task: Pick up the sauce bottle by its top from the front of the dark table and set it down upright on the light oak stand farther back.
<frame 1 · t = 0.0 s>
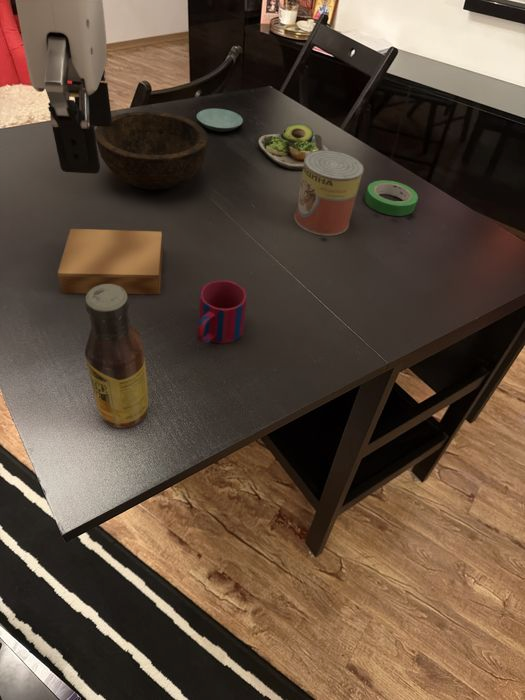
hand: (89, 146, 45), 30 cm above the table, tool pointing down, fingers open, 9 cm apart
saucer: (219, 127, 124), on the table
oak stand: (115, 270, 80), on the table
canned food: (321, 221, 98), on the table
avocado toast plate: (294, 154, 118), on the table
mug: (215, 335, 72), on the table
sauce bottle: (125, 412, 61), on the table
tape roll: (388, 203, 106), on the table
bowl: (155, 181, 102), on the table
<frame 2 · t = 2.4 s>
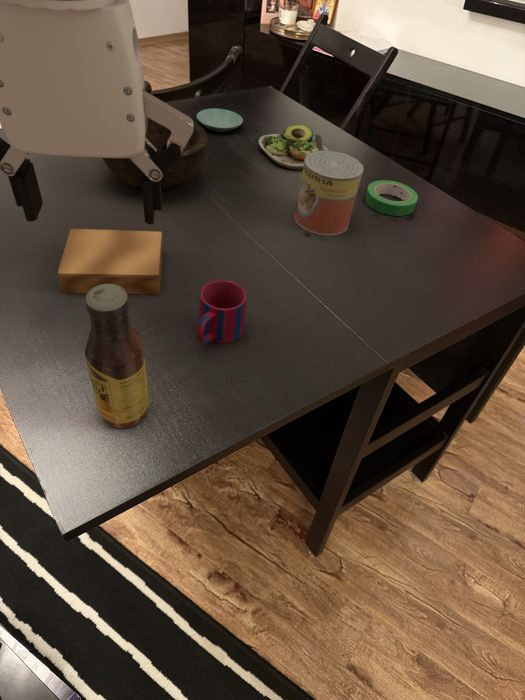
hand: (93, 214, 42), 28 cm above the table, tool pointing down, fingers open, 9 cm apart
nothing on the table moved.
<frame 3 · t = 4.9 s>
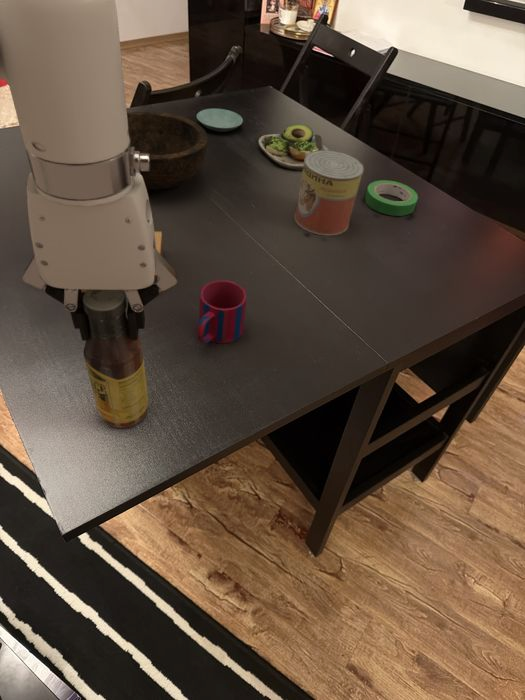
hand: (111, 329, 50), 15 cm above the table, tool pointing down, fingers closed on sauce bottle, 4 cm apart
sauce bottle: (125, 412, 61), on the table, touching gripper
everything else where it was.
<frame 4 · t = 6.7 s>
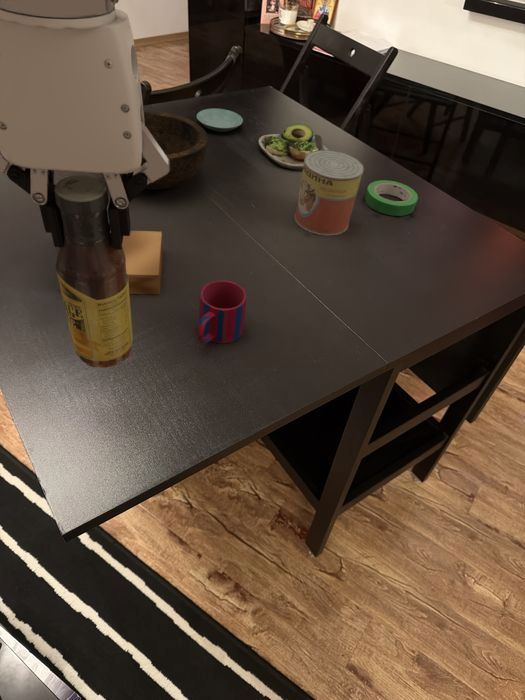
hand: (90, 237, 42), 26 cm above the table, tool pointing down, fingers closed on sauce bottle, 4 cm apart
sauce bottle: (105, 352, 53), point 11 cm above the table, touching gripper
everything else where it was.
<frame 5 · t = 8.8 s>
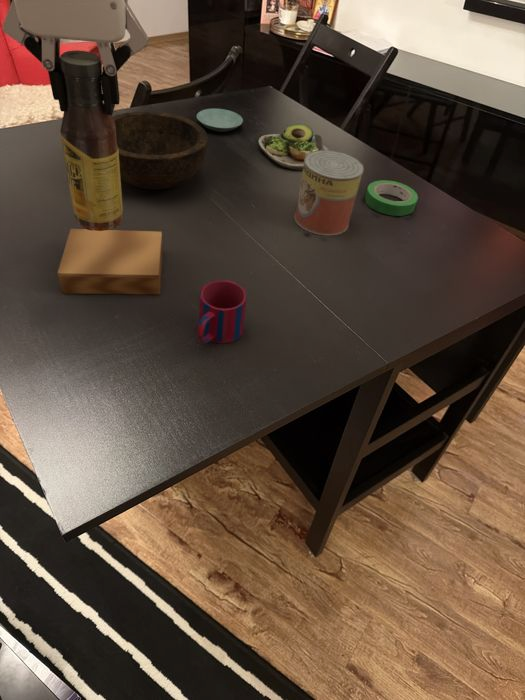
hand: (88, 106, 53), 29 cm above the table, tool pointing down, fingers closed on sauce bottle, 4 cm apart
sauce bottle: (100, 222, 64), point 14 cm above the table, touching gripper
everything else where it was.
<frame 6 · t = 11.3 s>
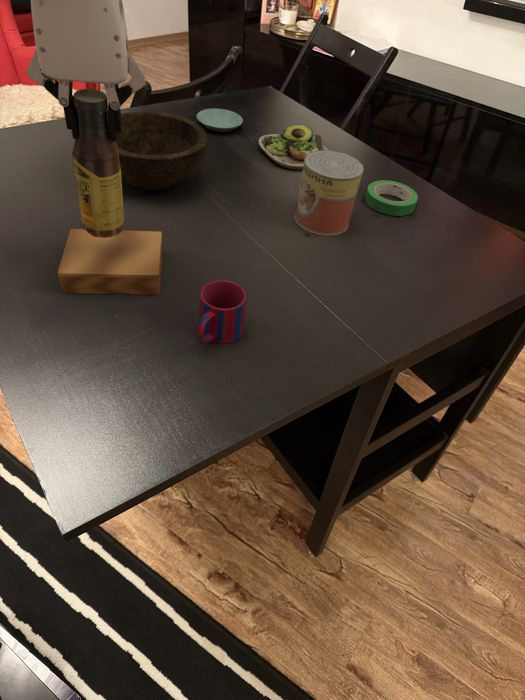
hand: (96, 134, 64), 23 cm above the table, tool pointing down, fingers closed on sauce bottle, 4 cm apart
sauce bottle: (104, 230, 74), point 8 cm above the table, touching gripper
everything else where it was.
when the fingers open (19 cm above the table, at t = 12.8 s): sauce bottle stays where it is, resting on oak stand.
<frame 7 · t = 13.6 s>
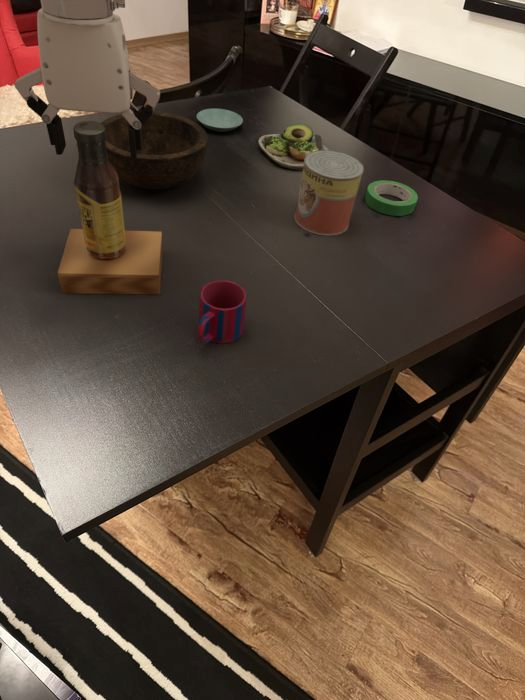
hand: (98, 152, 65), 20 cm above the table, tool pointing down, fingers open, 9 cm apart
sauce bottle: (107, 252, 77), point 4 cm above the table, touching oak stand
everything else where it was.
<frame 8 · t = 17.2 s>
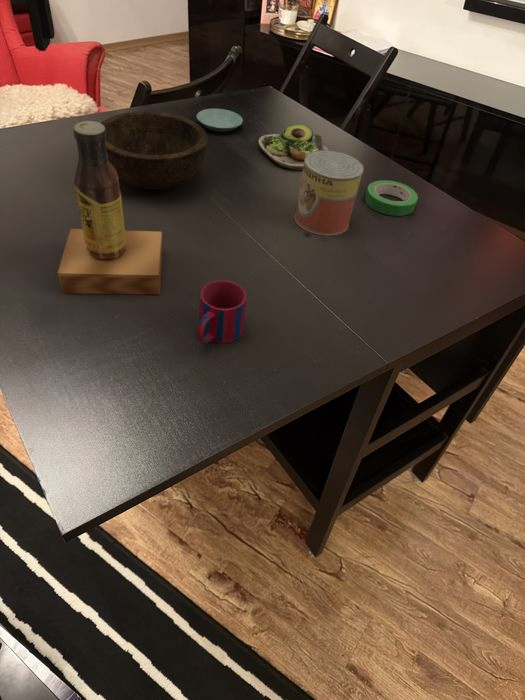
nothing on the table moved.
at the end: sauce bottle inside the target area on the oak stand (0.9 cm from its centre), point 3.8 cm above the oak stand's base; sauce bottle tilted 0°; the gripper is holding nothing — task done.
